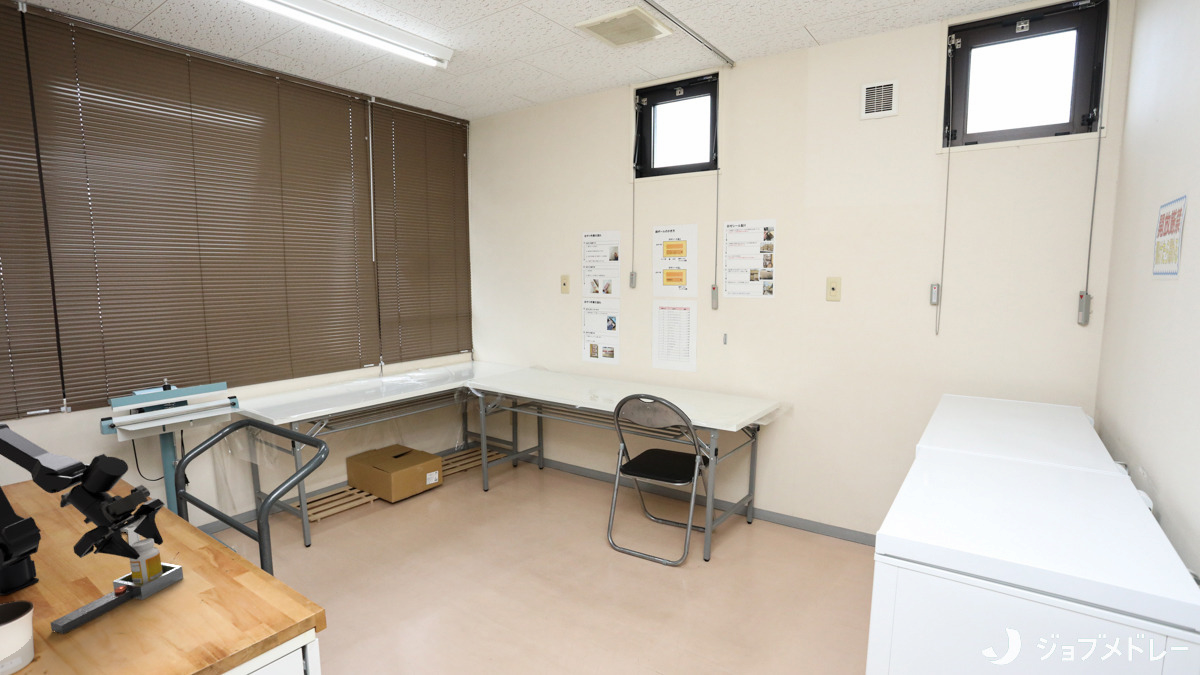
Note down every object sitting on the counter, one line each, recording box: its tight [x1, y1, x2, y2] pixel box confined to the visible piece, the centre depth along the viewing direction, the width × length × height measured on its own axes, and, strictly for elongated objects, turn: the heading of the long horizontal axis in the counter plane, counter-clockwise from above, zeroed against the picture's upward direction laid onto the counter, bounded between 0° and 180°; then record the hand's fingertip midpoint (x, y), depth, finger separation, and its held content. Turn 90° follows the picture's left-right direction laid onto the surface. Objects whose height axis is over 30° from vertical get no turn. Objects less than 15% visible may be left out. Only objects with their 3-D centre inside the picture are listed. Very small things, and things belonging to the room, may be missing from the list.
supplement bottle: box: [129, 538, 163, 585], centre depth 130 cm, size 5×5×10 cm
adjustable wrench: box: [121, 522, 141, 546], centre depth 154 cm, size 25×6×2 cm, turn 37°
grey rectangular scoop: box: [50, 561, 184, 635], centre depth 124 cm, size 22×9×3 cm, turn 162°
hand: (150, 550), depth 129 cm, fingers open, 6 cm apart
